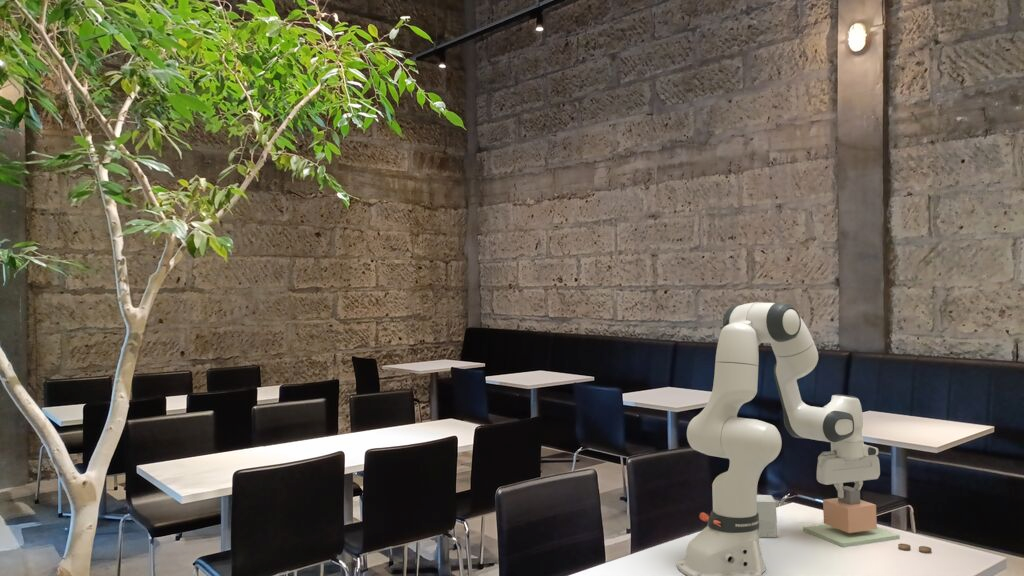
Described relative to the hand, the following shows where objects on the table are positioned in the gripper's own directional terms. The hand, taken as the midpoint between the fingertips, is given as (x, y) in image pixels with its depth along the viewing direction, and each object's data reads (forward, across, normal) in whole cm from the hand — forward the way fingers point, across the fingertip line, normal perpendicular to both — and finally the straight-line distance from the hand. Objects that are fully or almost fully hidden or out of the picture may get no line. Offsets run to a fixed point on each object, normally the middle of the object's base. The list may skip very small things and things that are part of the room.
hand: (848, 496), depth 212 cm
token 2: (+11, +8, -19) cm, 23 cm away
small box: (+11, -22, +10) cm, 27 cm away
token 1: (+11, +4, -15) cm, 19 cm away
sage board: (+11, 0, 0) cm, 11 cm away
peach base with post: (+9, 0, 0) cm, 9 cm away
